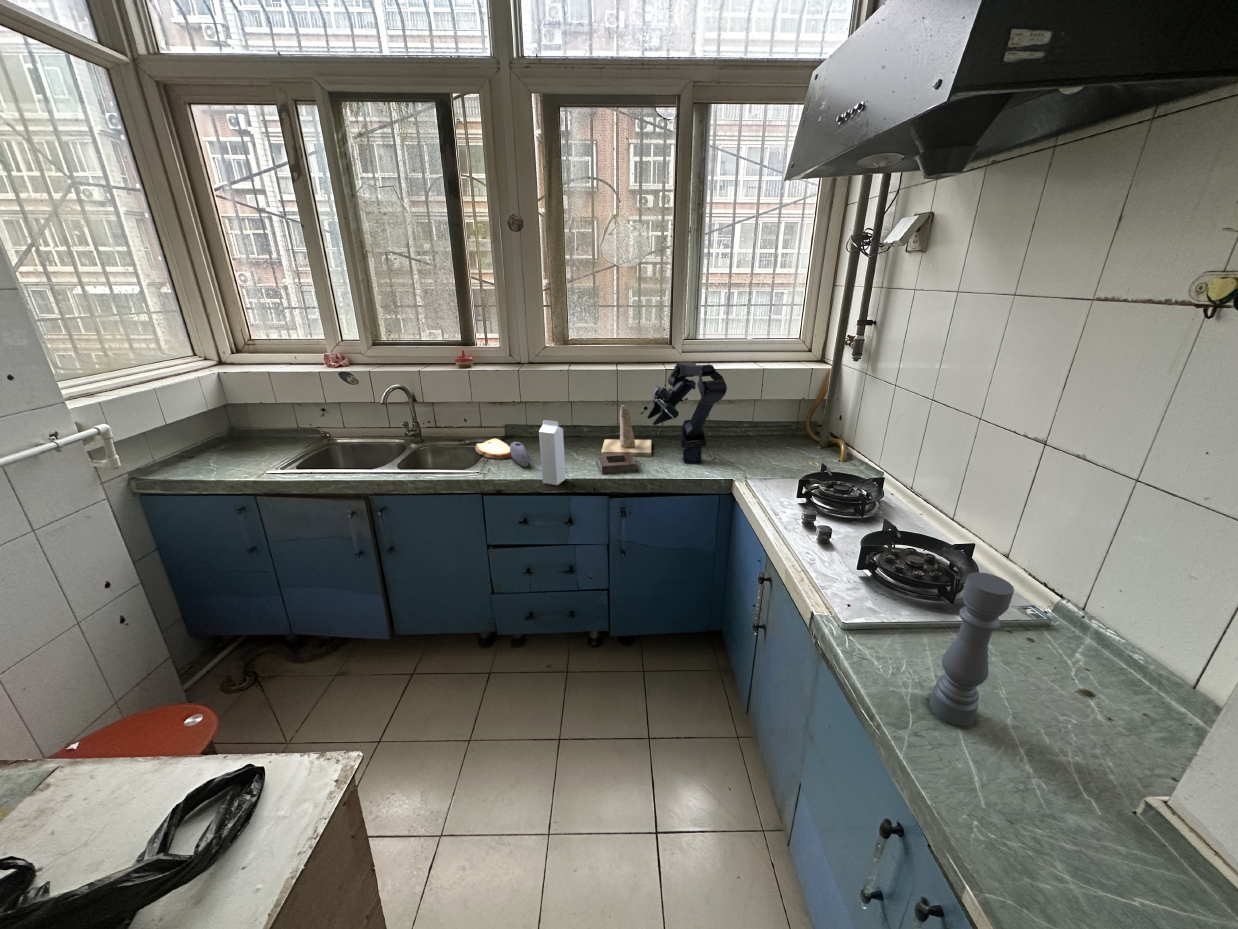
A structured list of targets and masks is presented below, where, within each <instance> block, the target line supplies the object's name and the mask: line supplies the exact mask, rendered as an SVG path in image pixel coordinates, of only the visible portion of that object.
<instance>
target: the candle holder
mask: <svg viewBox="0 0 1238 929" xmlns="http://www.w3.org/2000/svg"><path fill="white" fill-rule="evenodd" d="M1014 593H1015V588H1014V586H1013V584H1011V583H1010V582H1009V581H1008V580H1006V579H1004V578H1003V577H1000V576H997V575H995V574H992V573H989V572H988V573H987V572H982V571H981V572H980V571H979V572H978V571H976V572H970V573H969V574H967V576H966V580H965V584H964V587H963V590H962V599H963V603H964V605H965V606H962V607H961V608H960V609H959V612H958V613H959V618H960V619H961V623H960V627H959V631H958V633H957V635H956V636H955V638H954V639H953V641H952V642H951V643H950V645H949V646H948V648H947V649H946V651H945V652H944V653H943V654H942V658H941V666H942V669H943V671H944V674H943V675H940V677H939V678H937V682H936V683H935V684H934V685H933V688H932V692H931V695H930V699H929V707H930V709H931V711H932V712H933V713H934V714H935V715H936V717H937V718H939V719H941V720H942V721H944V722H945V723H947V724H949V725H953V726H955V727H967V726H971V725H972V724H973V723H974V720H975V717H976V715H977V711H978V708H979V699H980V697H979V696H980V695H979V690H978V689H977V687H978V686H980V685H982V684H983V683H984V682H985V681H986V680H987V679H988V677H989V643H990V641H991V638H992V634H993V632H994V631H997V630H999V629H1000V627H1001V626H1002V622H1001V619H999V617H1002V615H1004V614H1005V612H1007V611H1008V610H1009V608H1010V605H1011V603H1012V602H1011V601H1012V598H1013V596H1014Z"/></svg>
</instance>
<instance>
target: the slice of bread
mask: <svg viewBox="0 0 1238 929" xmlns="http://www.w3.org/2000/svg"><path fill="white" fill-rule="evenodd" d="M474 449H475V452H476V453H477V454H478V455H480V456H483V457H485V458H489V459H494V460H496V459H497V460H502V459H503V460H505V459H512V458H513V457H512V456H511V453H510V445H508V444H507V443H506V442H504V441H502V440H500V439H499V438H496V437H495V438H494V437H493V438H491V439H489V440H486V441H484V442H482V443H481V442H480V443H479V442H477V443H476V445H475V447H474Z"/></svg>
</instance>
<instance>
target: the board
mask: <svg viewBox="0 0 1238 929" xmlns="http://www.w3.org/2000/svg"><path fill="white" fill-rule="evenodd" d="M634 440H635V446H634V447H631V448H624V447H621V446H620V439H617V438H616V439H611V438H609V439H604V441H603V443H602V444H603V445H602V447H601V451H600V454H612V453H626V452H630V453H631V455H632V456H633V457H651V456H652V439H634Z"/></svg>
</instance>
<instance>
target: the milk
mask: <svg viewBox="0 0 1238 929" xmlns="http://www.w3.org/2000/svg"><path fill="white" fill-rule="evenodd" d="M538 438H539V453H540V464H541V479H542V484H547V485H552V486H559V485H560V484H562V482H564V481H566V463H565V460H566V458H565V441H564V440H565V439H564V428H563V427H561V426H559V422H558V421H556V420H555V421H554V420H546V419H543V420H542V425H541V427H540V428H539V430H538Z"/></svg>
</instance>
